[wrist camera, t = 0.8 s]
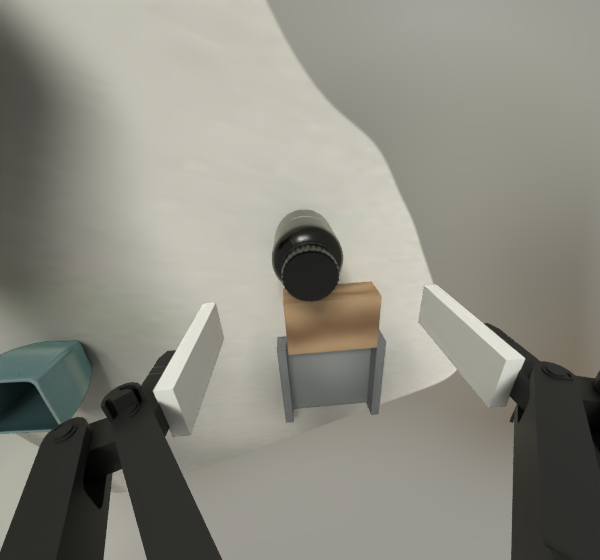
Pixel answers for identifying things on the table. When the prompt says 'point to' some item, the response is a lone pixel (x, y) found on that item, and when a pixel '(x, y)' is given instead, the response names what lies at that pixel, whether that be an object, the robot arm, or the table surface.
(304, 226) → the supplement bottle
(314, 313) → the walnut ledge
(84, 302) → the table surface
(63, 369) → the flower pot
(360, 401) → the grey tray
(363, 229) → the table surface
